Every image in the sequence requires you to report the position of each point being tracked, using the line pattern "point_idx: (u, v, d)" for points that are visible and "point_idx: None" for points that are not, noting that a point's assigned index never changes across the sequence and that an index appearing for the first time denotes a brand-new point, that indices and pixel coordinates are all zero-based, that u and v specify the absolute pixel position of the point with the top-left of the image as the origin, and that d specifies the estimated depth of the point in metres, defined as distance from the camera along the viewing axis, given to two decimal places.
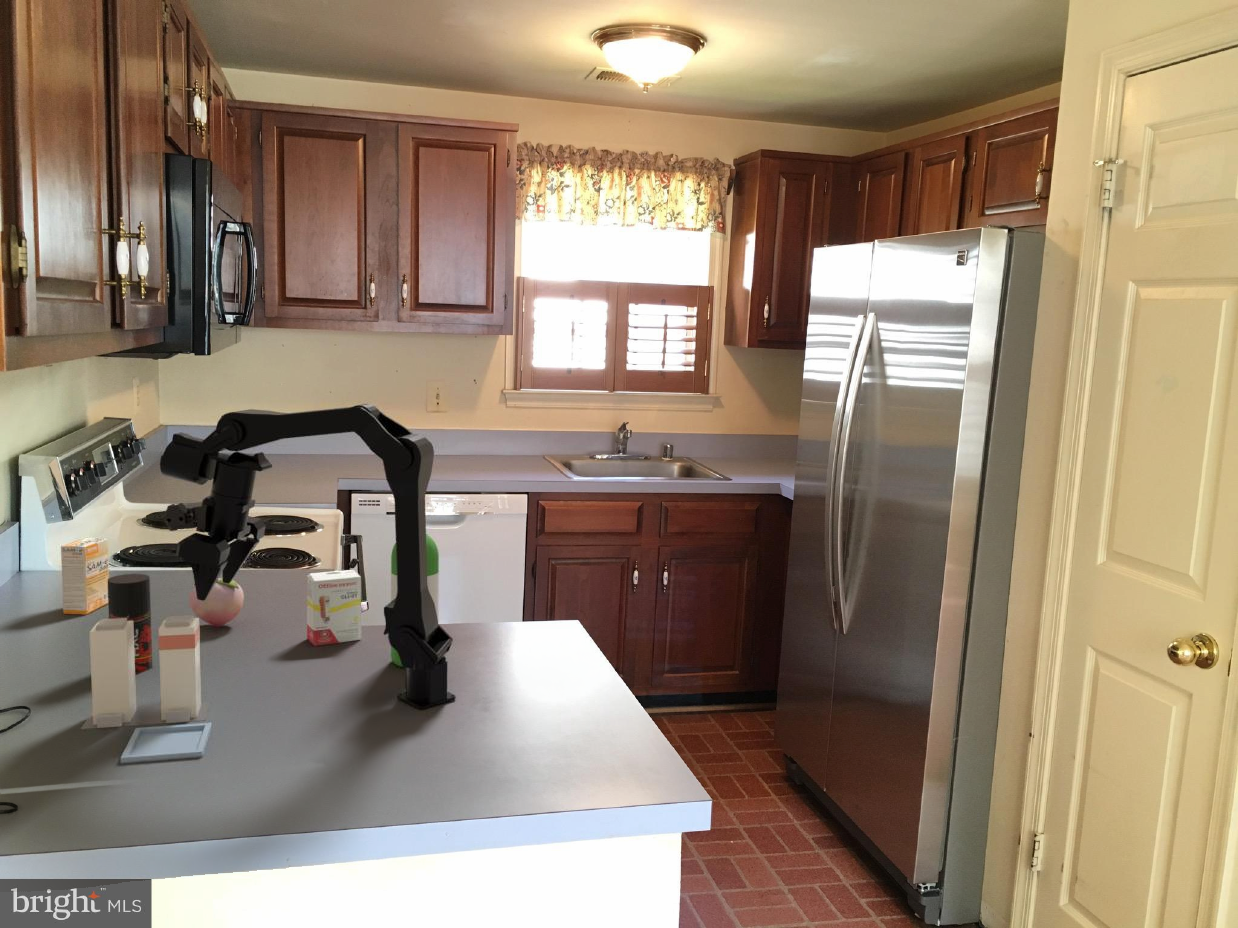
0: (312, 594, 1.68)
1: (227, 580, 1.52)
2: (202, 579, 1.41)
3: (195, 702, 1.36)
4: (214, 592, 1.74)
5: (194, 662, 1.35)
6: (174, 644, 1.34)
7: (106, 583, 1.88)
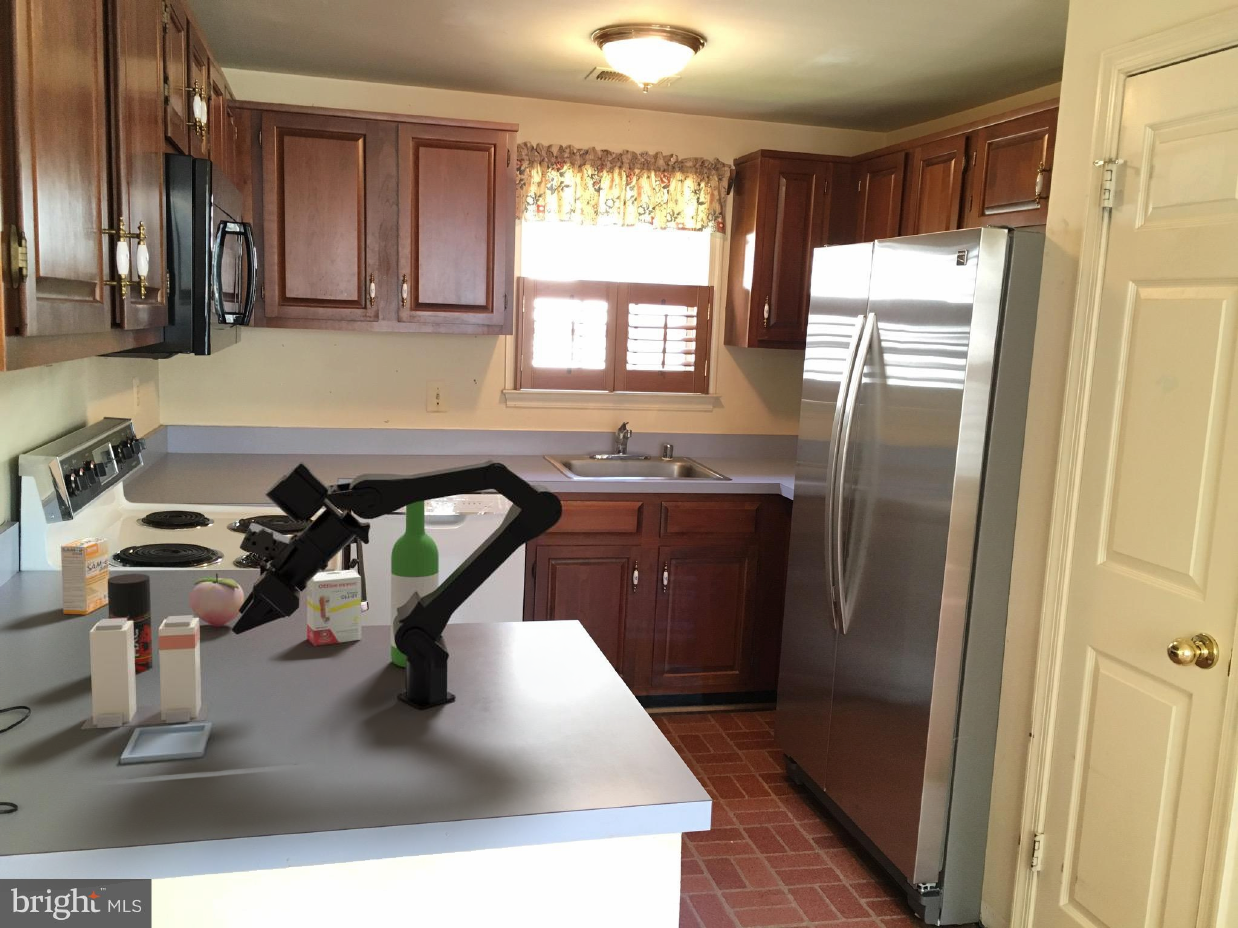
0: (312, 594, 1.68)
1: (243, 611, 1.42)
2: (252, 616, 1.33)
3: (195, 702, 1.36)
4: (214, 592, 1.74)
5: (194, 662, 1.35)
6: (174, 644, 1.34)
7: (106, 583, 1.88)
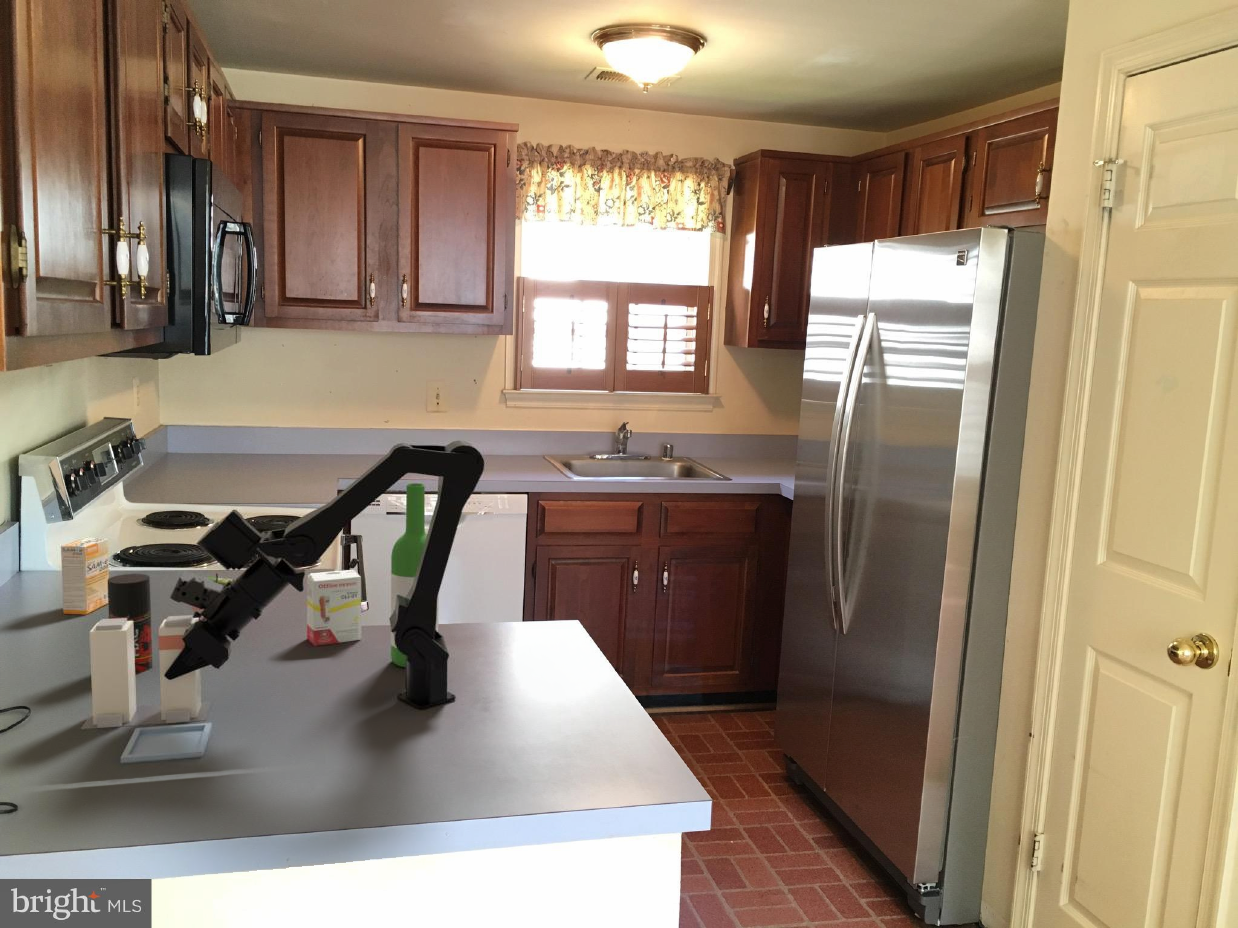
0: (312, 594, 1.68)
1: None
2: (185, 662, 1.33)
3: (195, 702, 1.36)
4: None
5: None
6: (174, 644, 1.34)
7: (106, 583, 1.88)
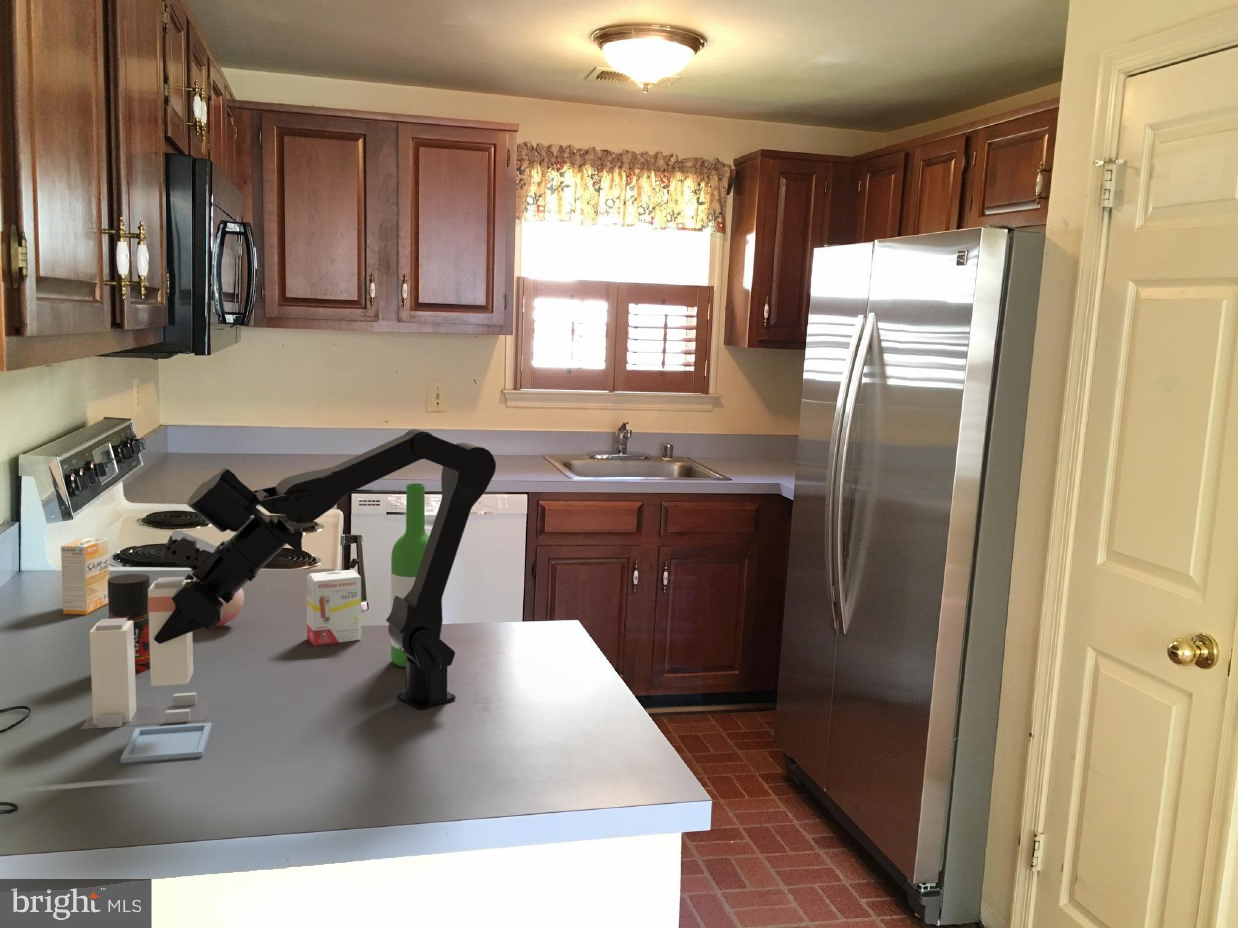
0: (312, 594, 1.68)
1: None
2: (175, 625, 1.26)
3: (186, 668, 1.29)
4: None
5: None
6: (164, 606, 1.27)
7: (106, 583, 1.88)
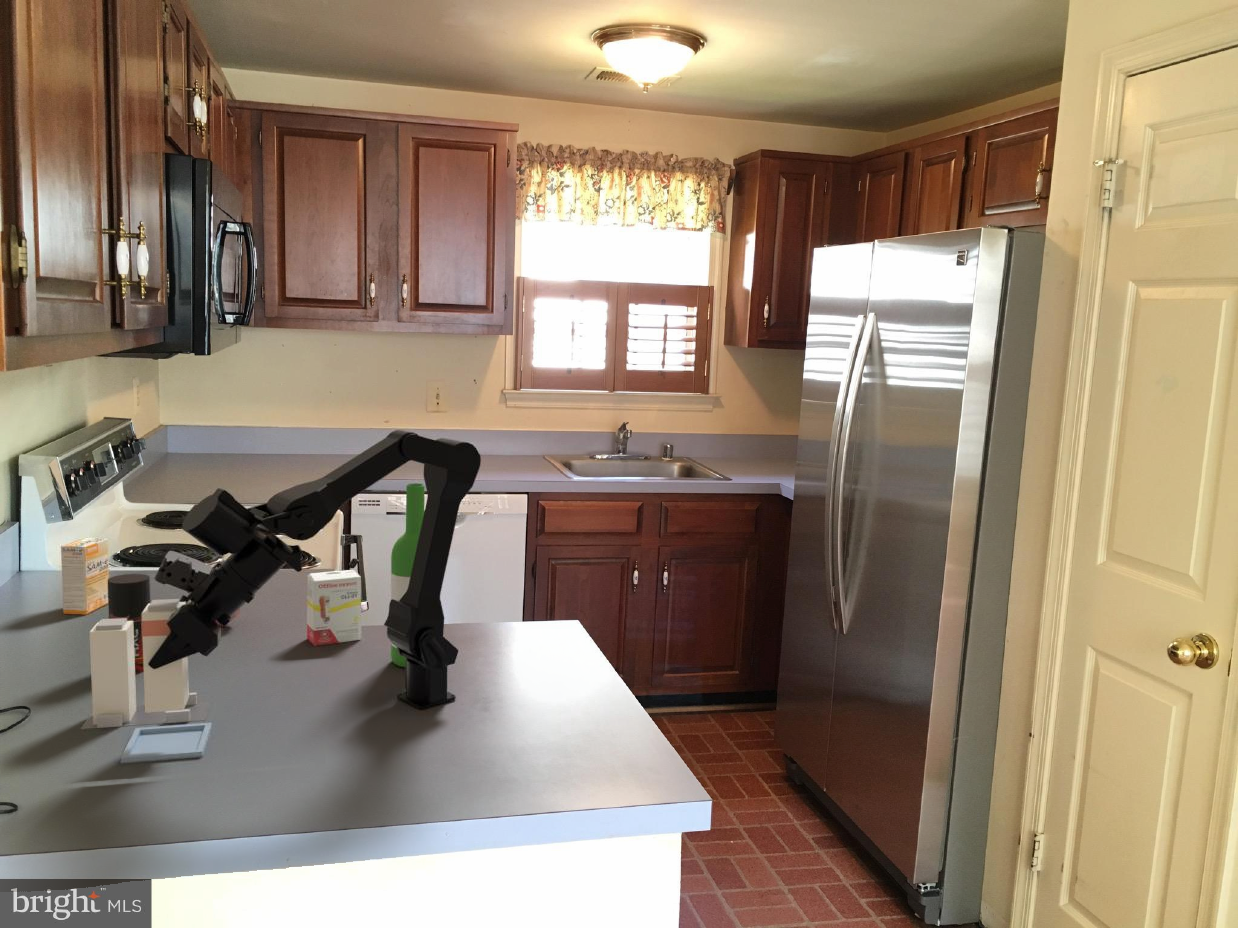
0: (312, 594, 1.68)
1: None
2: (170, 649, 1.22)
3: (182, 693, 1.24)
4: None
5: None
6: (159, 630, 1.22)
7: (106, 583, 1.88)
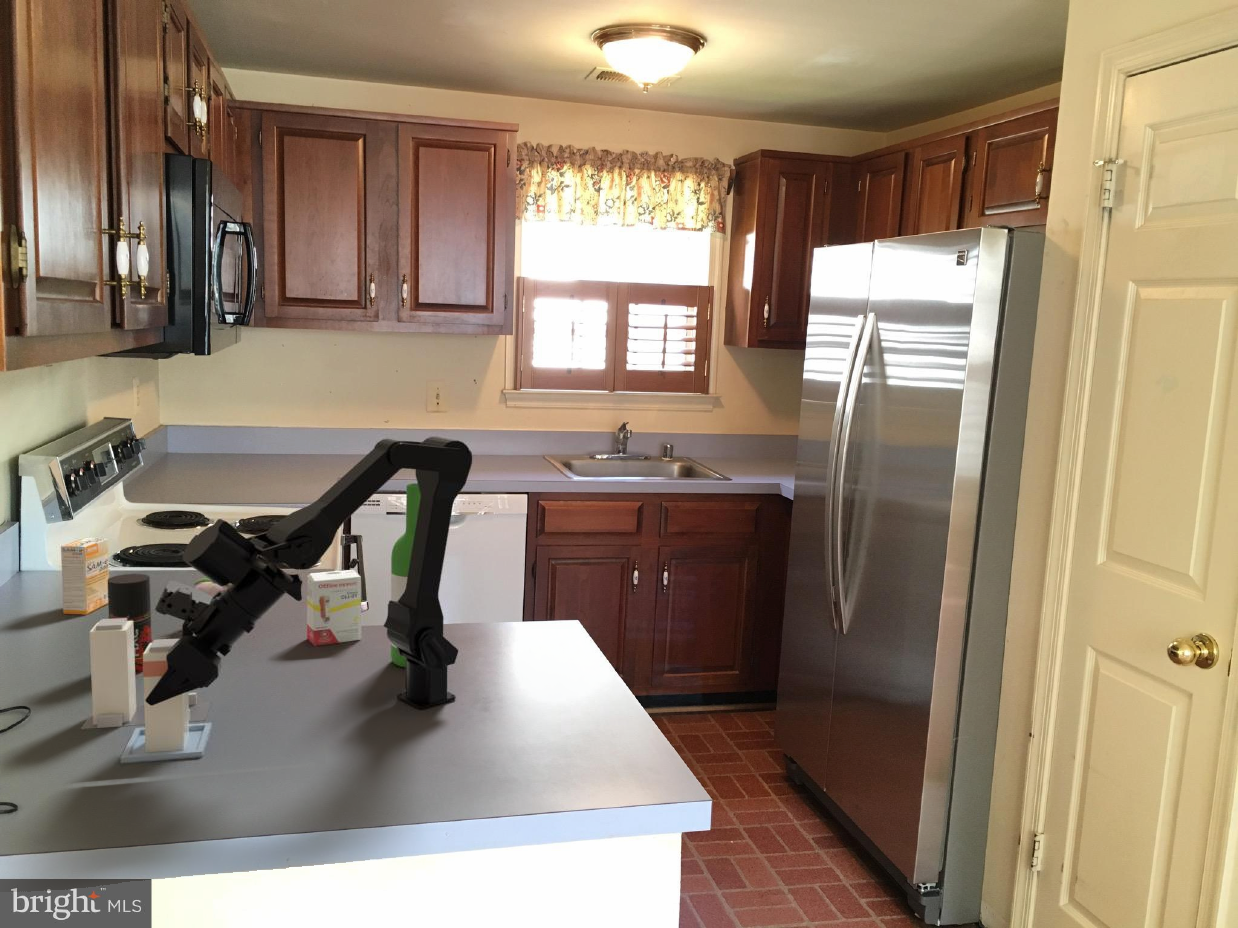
0: (312, 594, 1.68)
1: None
2: (168, 685, 1.20)
3: (182, 733, 1.25)
4: (214, 592, 1.74)
5: None
6: (160, 671, 1.23)
7: (106, 583, 1.88)
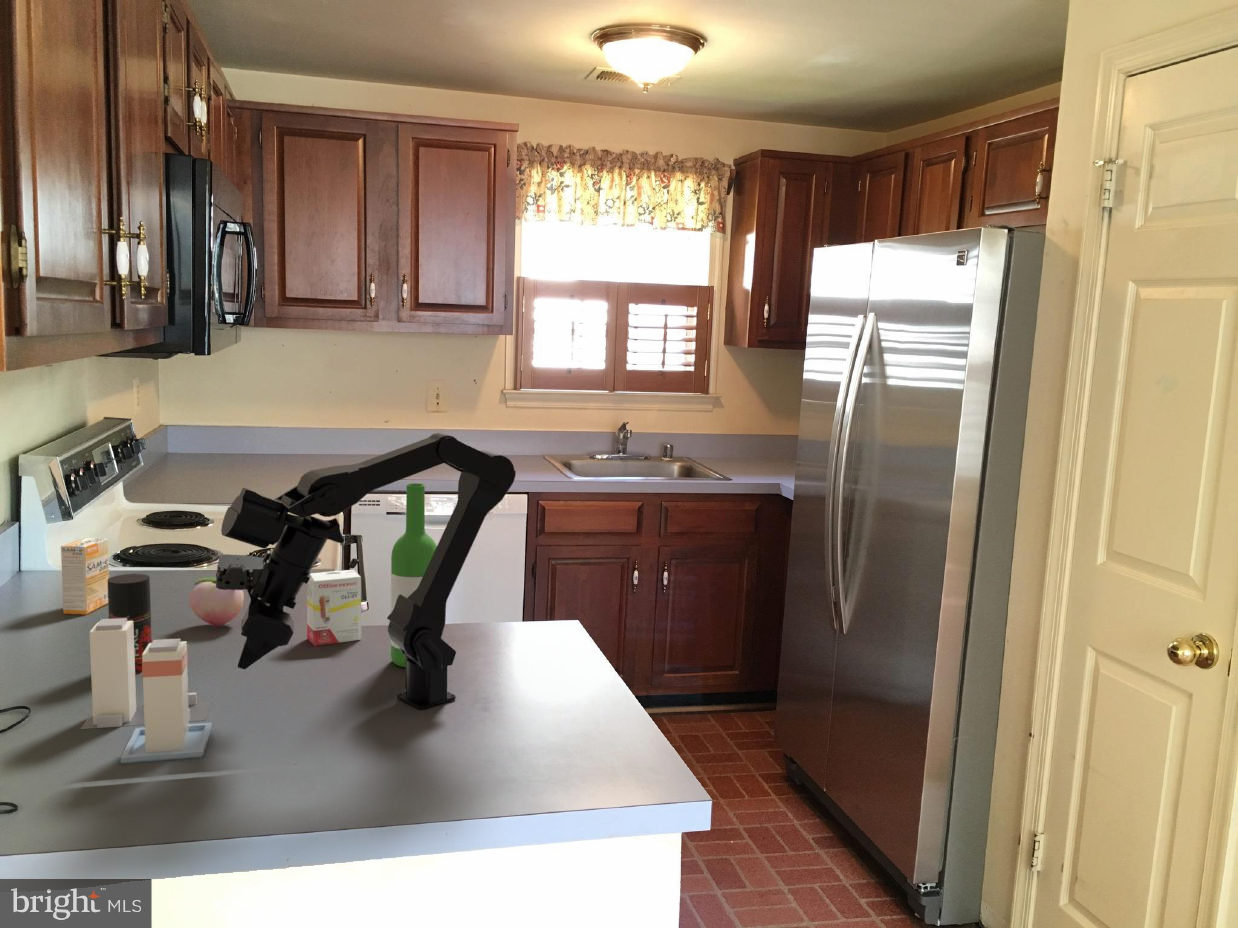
0: (312, 594, 1.68)
1: None
2: (252, 650, 1.30)
3: (182, 733, 1.25)
4: (214, 592, 1.74)
5: (181, 690, 1.24)
6: (159, 671, 1.23)
7: (106, 583, 1.88)
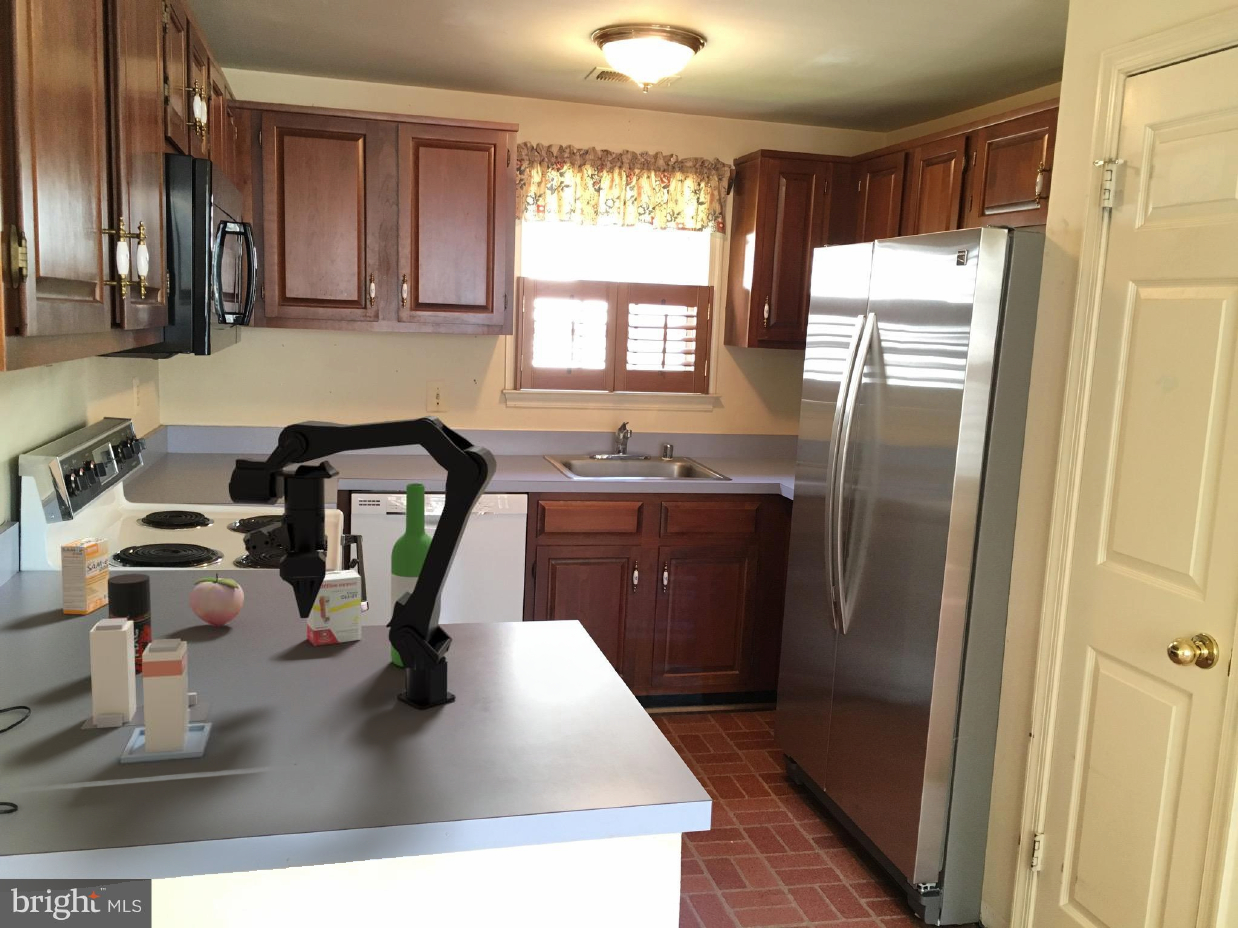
0: None
1: None
2: (304, 596, 1.40)
3: (182, 733, 1.25)
4: (214, 592, 1.74)
5: (181, 690, 1.24)
6: (159, 671, 1.23)
7: (106, 583, 1.88)
